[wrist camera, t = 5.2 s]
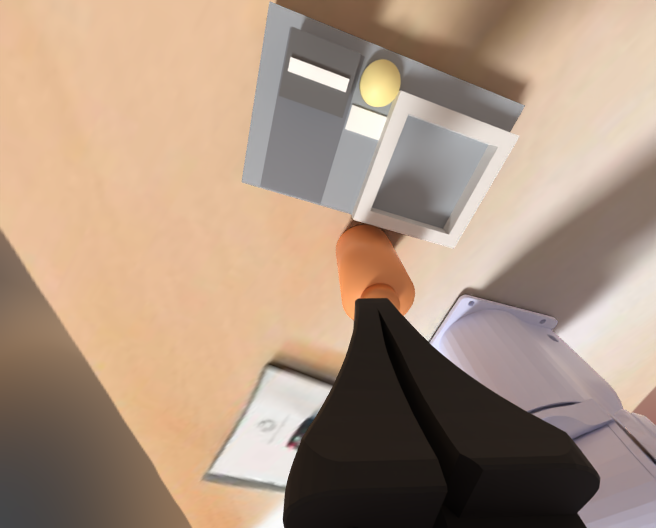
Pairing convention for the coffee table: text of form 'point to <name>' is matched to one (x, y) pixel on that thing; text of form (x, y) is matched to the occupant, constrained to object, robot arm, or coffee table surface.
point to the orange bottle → (371, 269)
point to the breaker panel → (379, 138)
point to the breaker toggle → (318, 72)
